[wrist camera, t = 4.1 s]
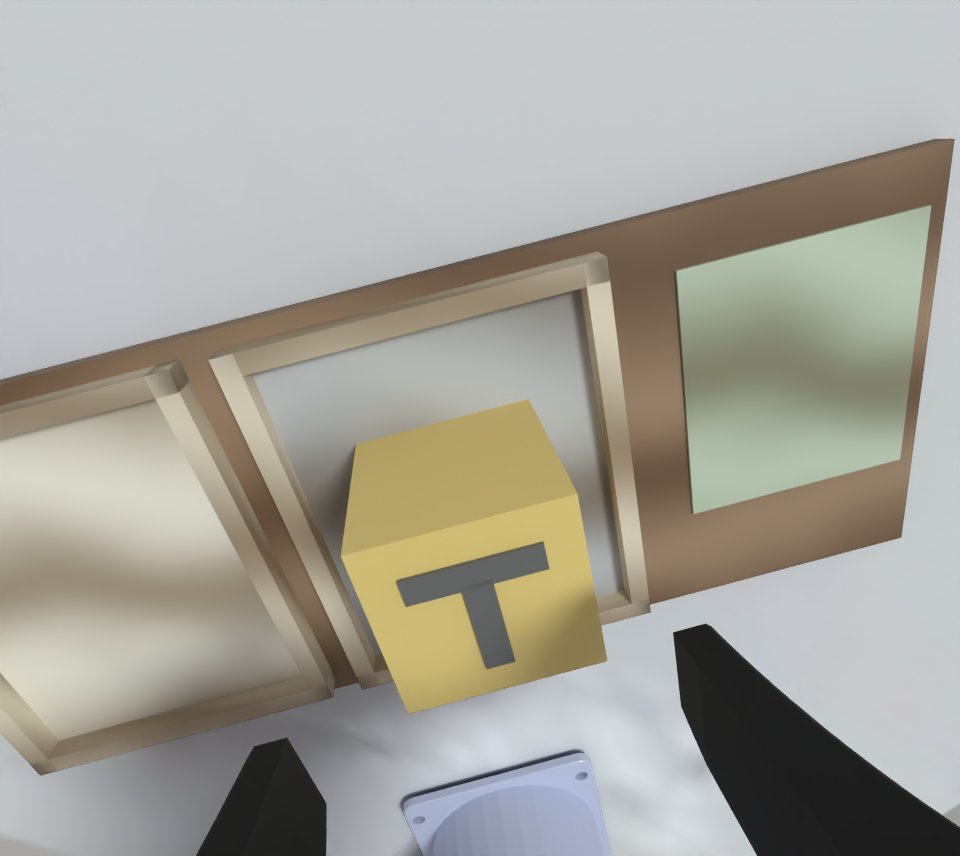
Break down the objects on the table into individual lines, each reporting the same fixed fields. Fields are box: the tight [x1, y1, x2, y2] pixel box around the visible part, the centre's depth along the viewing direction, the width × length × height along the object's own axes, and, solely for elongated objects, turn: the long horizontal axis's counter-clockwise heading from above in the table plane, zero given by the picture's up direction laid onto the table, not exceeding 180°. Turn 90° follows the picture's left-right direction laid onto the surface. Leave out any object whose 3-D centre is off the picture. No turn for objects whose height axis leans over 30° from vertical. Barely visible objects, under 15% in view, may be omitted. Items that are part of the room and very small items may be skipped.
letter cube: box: [341, 399, 607, 714], centre depth 15 cm, size 5×5×5 cm
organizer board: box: [0, 139, 954, 776], centre depth 18 cm, size 13×31×1 cm, turn 103°
